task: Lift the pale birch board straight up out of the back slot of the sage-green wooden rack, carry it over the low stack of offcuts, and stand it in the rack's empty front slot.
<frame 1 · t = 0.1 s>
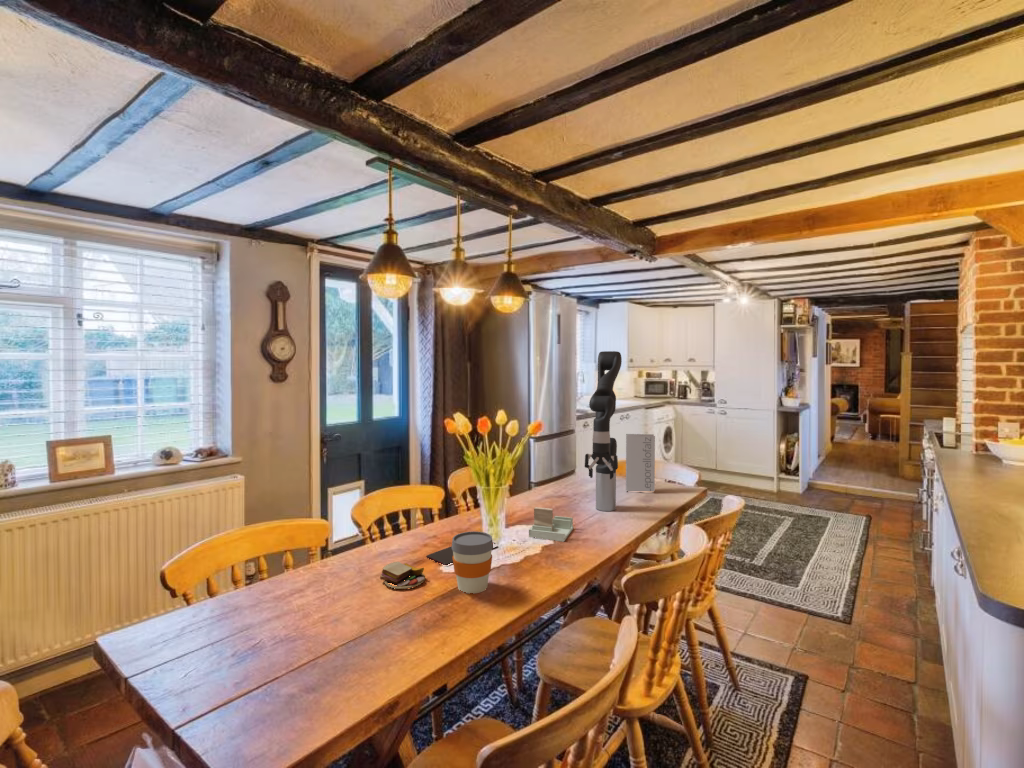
hand: (601, 478, 217), 17 cm above the table, tool pointing down, fingers open, 8 cm apart
offcuts: (545, 529, 199), point 1 cm above the table, touching rack
smartphone: (462, 554, 178), on the table
brochure: (639, 492, 260), on the table
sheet: (543, 533, 194), point 1 cm above the table, touching rack
rack: (551, 532, 198), on the table
toy sandwich meal: (402, 583, 154), on the table
reusable coffee cup: (472, 587, 151), on the table
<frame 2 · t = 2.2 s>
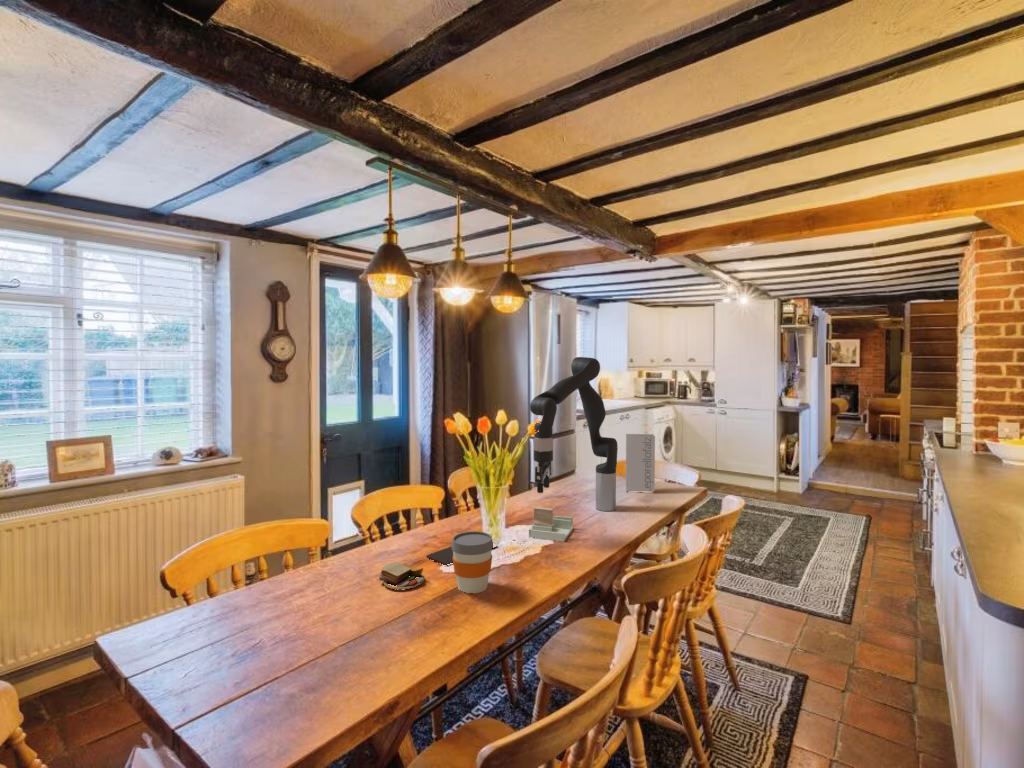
hand: (543, 490, 193), 18 cm above the table, tool pointing down, fingers open, 8 cm apart
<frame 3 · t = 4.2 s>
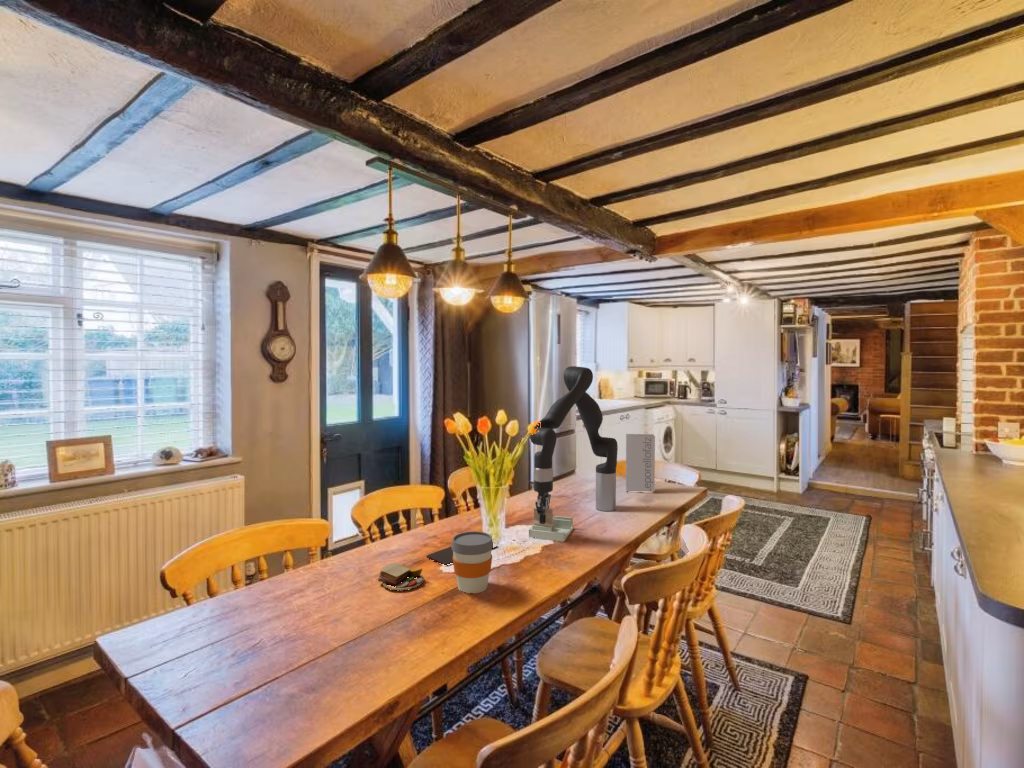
hand: (543, 522, 194), 6 cm above the table, tool pointing down, fingers closed on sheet, 1 cm apart
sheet: (543, 533, 194), point 1 cm above the table, touching gripper
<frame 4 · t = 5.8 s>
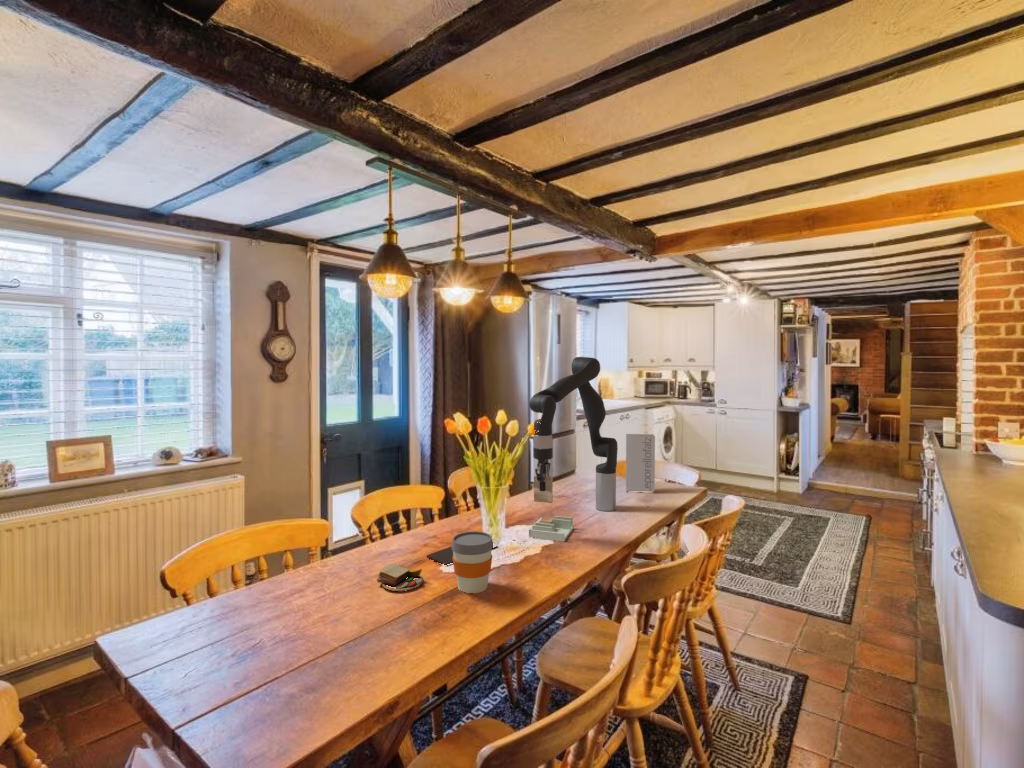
hand: (543, 490, 193), 18 cm above the table, tool pointing down, fingers closed on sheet, 1 cm apart
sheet: (543, 501, 194), point 14 cm above the table, touching gripper
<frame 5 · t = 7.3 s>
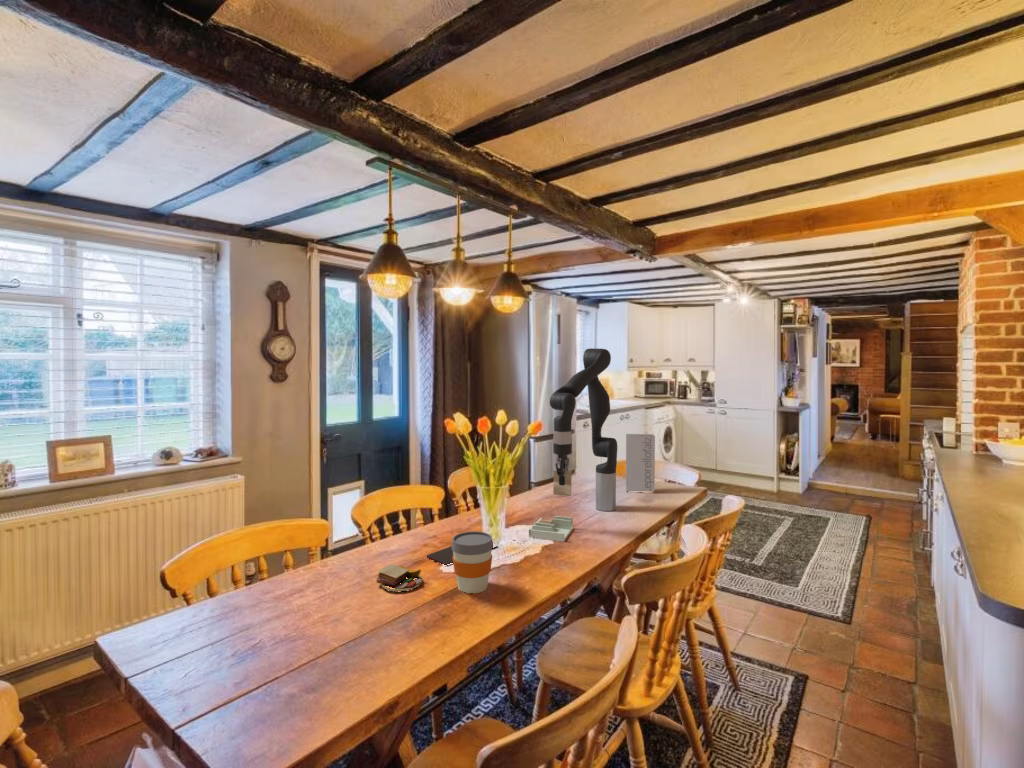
hand: (562, 484, 201), 19 cm above the table, tool pointing down, fingers closed on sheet, 1 cm apart
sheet: (562, 494, 202), point 14 cm above the table, touching gripper
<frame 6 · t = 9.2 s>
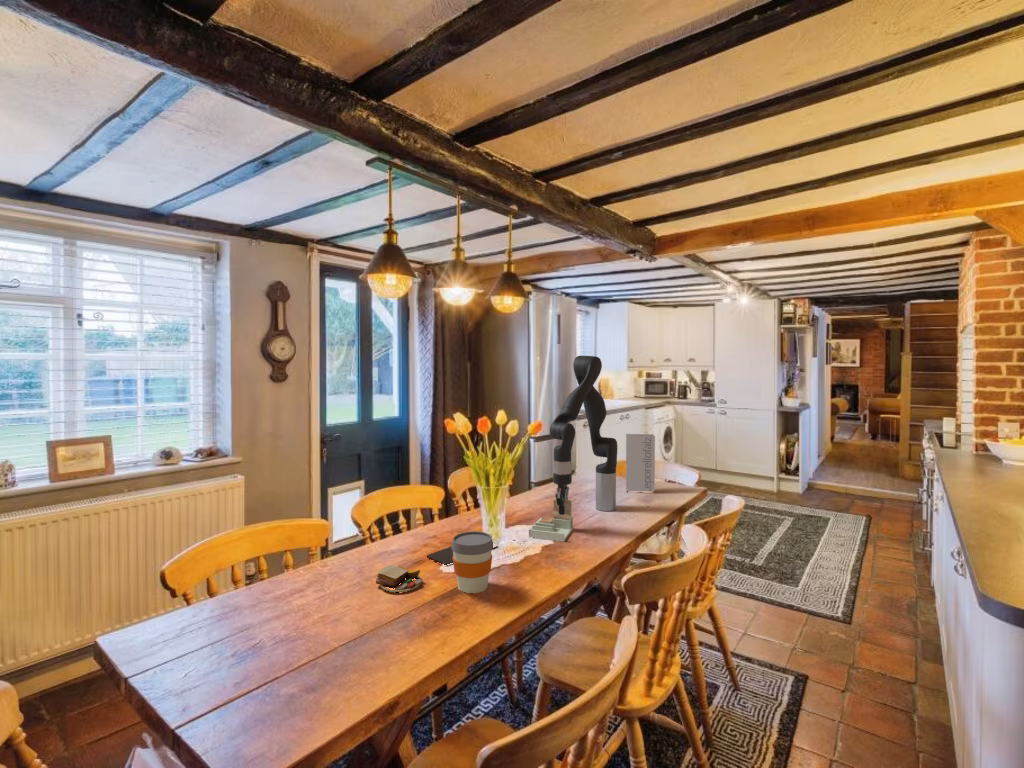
hand: (562, 513, 202), 7 cm above the table, tool pointing down, fingers closed on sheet, 1 cm apart
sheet: (562, 524, 202), point 2 cm above the table, touching gripper
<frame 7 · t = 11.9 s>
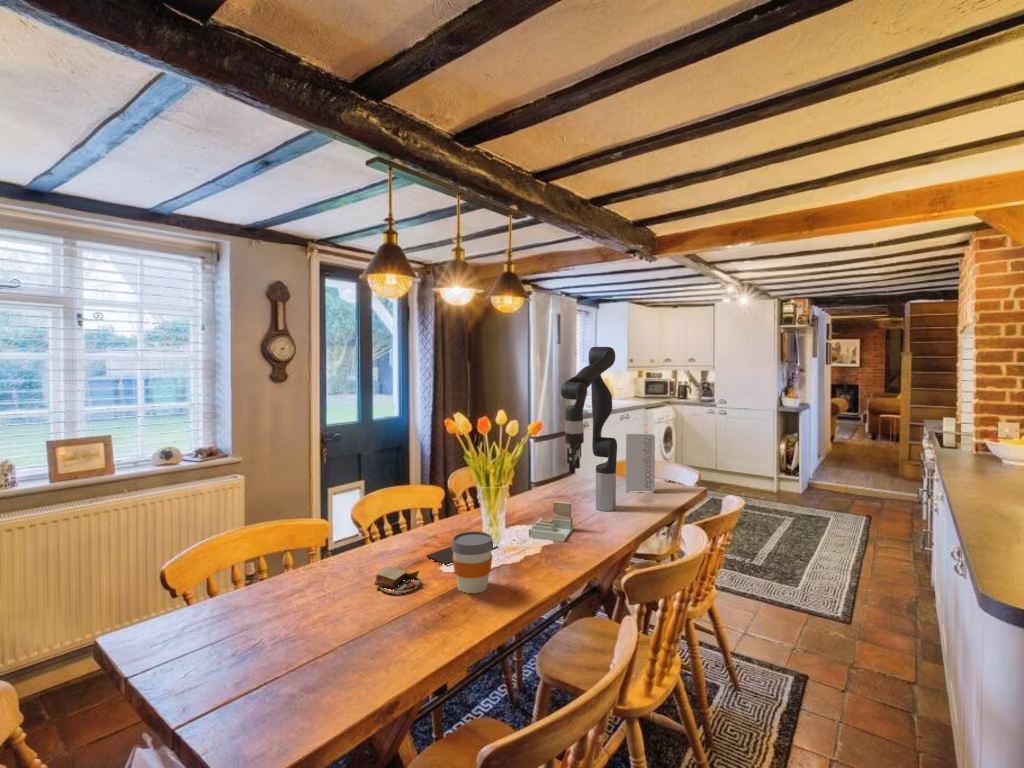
hand: (574, 470, 202), 24 cm above the table, tool pointing down, fingers open, 8 cm apart
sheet: (562, 526, 202), point 1 cm above the table, touching rack
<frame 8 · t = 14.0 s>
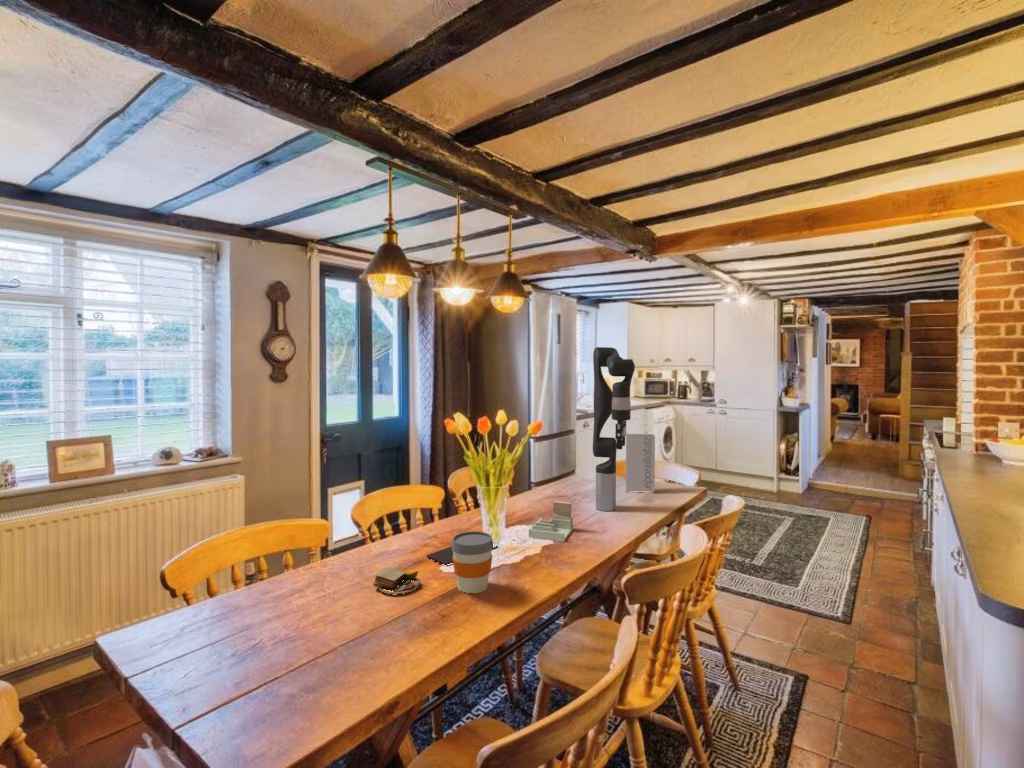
hand: (620, 447, 203), 33 cm above the table, tool pointing down, fingers open, 8 cm apart
at the end: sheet 0.1 cm from the target spot, point 1.0 cm above the table; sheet tilted 0°; the gripper is holding nothing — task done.
